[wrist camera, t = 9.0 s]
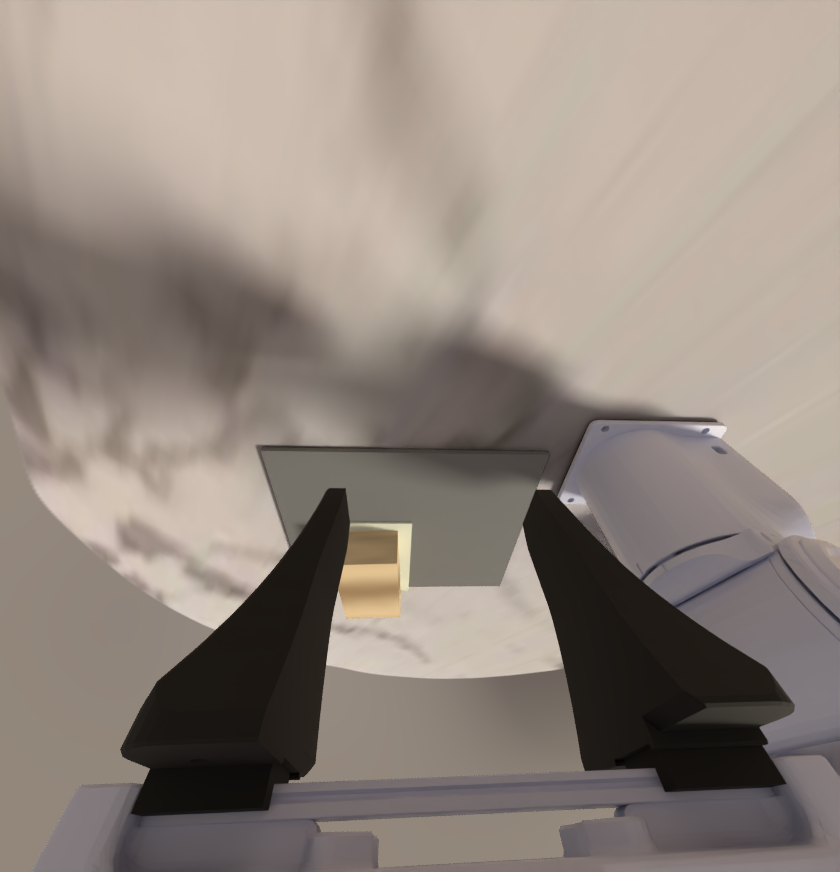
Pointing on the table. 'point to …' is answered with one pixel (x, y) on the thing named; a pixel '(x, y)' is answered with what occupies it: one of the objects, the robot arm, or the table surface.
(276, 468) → the rubber mat
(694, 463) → the robot arm
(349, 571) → the oak block
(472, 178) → the table surface
